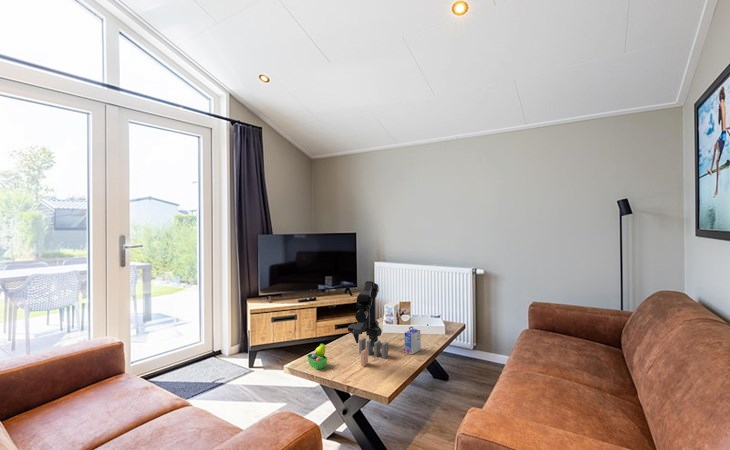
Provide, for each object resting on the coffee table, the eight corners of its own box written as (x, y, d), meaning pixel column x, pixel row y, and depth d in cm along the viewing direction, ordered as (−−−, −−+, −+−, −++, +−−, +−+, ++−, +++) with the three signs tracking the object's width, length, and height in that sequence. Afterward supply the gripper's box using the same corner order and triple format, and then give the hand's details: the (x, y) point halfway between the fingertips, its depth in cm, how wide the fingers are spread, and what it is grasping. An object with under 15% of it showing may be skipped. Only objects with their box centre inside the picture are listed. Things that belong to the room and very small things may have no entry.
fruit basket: (306, 364, 188) (306, 343, 188) (320, 360, 193) (320, 340, 193) (315, 371, 179) (315, 350, 179) (330, 367, 184) (330, 346, 184)
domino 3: (370, 351, 205) (370, 338, 204) (372, 352, 204) (372, 339, 204) (366, 354, 200) (366, 341, 200) (368, 355, 199) (368, 341, 199)
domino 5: (385, 355, 200) (385, 341, 199) (387, 355, 199) (387, 342, 199) (381, 358, 195) (381, 344, 195) (384, 358, 194) (384, 344, 194)
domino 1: (363, 350, 207) (363, 337, 207) (365, 350, 206) (365, 337, 206) (359, 353, 203) (359, 340, 203) (361, 353, 202) (361, 340, 202)
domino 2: (365, 362, 189) (365, 348, 189) (368, 363, 188) (368, 349, 188) (361, 366, 185) (361, 351, 185) (363, 366, 184) (363, 352, 184)
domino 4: (377, 353, 202) (377, 340, 202) (380, 354, 201) (380, 340, 201) (374, 356, 198) (373, 342, 198) (376, 357, 197) (376, 343, 197)
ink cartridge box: (413, 347, 211) (413, 324, 211) (421, 350, 207) (421, 326, 207) (404, 352, 204) (404, 328, 204) (411, 354, 200) (411, 330, 200)
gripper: (342, 318, 184) (342, 346, 184) (372, 323, 174) (372, 353, 175) (352, 313, 193) (353, 340, 194) (382, 317, 184) (382, 346, 184)
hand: (364, 345), depth 186 cm, fingers open, 9 cm apart
